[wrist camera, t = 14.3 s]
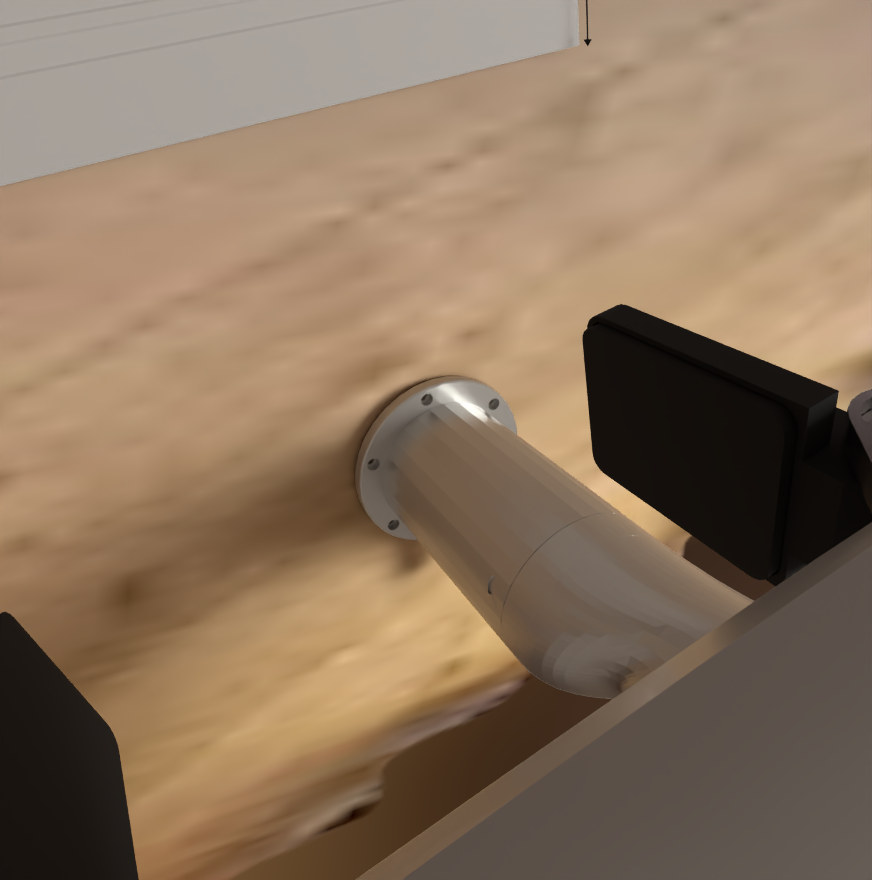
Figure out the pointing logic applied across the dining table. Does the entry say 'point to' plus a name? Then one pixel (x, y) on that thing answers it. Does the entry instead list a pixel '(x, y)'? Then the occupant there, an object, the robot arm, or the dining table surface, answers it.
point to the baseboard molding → (231, 65)
